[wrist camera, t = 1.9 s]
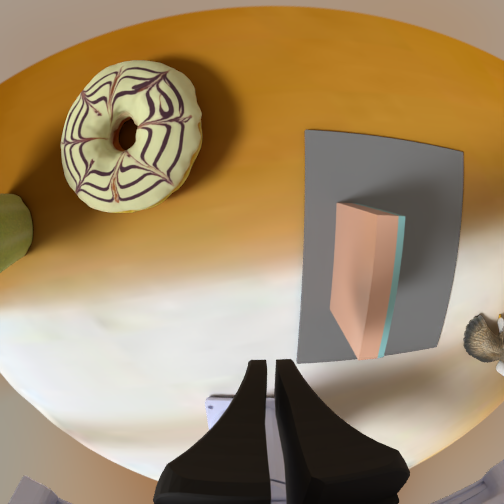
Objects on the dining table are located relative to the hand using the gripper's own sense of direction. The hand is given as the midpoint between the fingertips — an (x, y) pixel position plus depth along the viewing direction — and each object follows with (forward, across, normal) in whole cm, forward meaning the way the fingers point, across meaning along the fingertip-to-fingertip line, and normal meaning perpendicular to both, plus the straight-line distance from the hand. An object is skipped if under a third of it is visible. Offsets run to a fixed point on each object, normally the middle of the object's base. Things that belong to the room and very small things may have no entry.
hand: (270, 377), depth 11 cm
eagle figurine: (+11, -26, +7) cm, 29 cm away
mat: (+10, -10, -2) cm, 15 cm away
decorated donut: (+11, +9, -11) cm, 18 cm away
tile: (+10, -6, -2) cm, 12 cm away
